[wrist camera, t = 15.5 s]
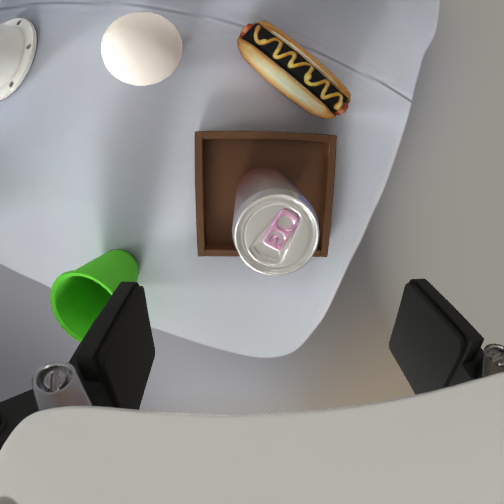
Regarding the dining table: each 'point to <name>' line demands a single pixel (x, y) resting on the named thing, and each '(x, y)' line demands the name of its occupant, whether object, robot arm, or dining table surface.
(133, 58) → the egg
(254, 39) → the hot dog
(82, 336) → the cup
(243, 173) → the tray
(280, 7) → the dining table surface
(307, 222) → the beverage can
